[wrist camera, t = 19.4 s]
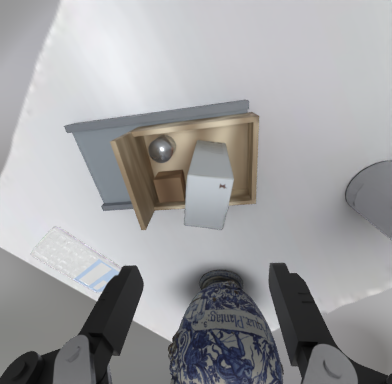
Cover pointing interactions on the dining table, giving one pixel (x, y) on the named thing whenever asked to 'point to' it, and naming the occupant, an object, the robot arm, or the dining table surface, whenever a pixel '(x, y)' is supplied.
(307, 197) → the dining table surface
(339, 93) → the dining table surface
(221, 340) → the decorative vase
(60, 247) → the white flat textured slab
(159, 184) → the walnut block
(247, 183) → the wooden drawer
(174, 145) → the grey ball
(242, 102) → the rail board
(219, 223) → the skincare box
